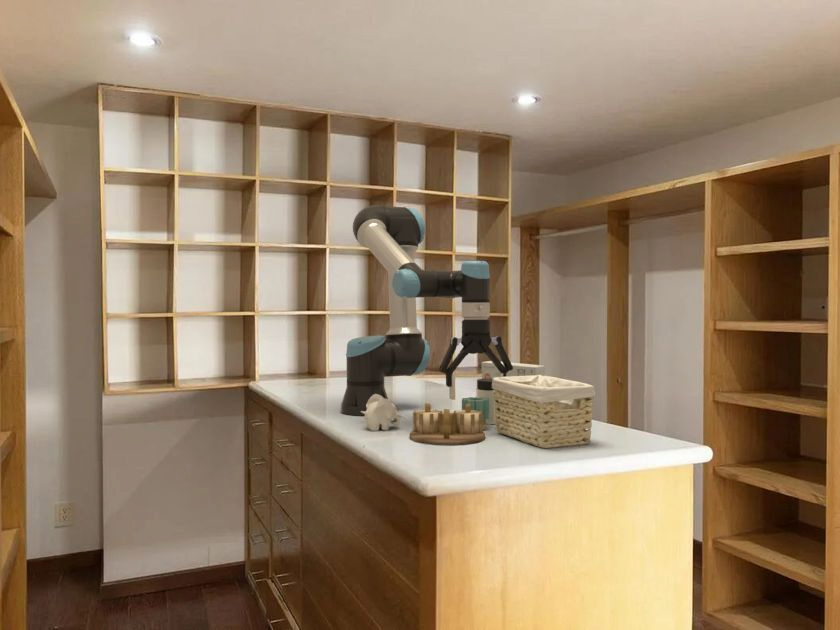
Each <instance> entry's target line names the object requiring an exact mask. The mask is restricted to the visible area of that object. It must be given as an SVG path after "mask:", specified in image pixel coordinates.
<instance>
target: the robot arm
mask: <svg viewBox="0 0 840 630" xmlns="http://www.w3.org/2000/svg"><path fill="white" fill-rule="evenodd" d="M425 232H426V226H425V221H424V217H423V216H422V214H421V213H420V212H419V211H418V210H416V209H415V208H411V207H410V208H409V207H406V206H403V207H401V206H388V205H387V206H385V205H377V204H376V205H375V204H374V205H369V206H366V207H364V208H363V209H361V210H360V211H359V212H358V213H357V214H356V215H355V217H354V219H353V223H352V233H353V236H354V238H355V240H357V242H358V243H359V244H360V246H361V247H363V248H366V249H367V250H369V252H371V253H372V255H373V256H374V257H375V258H376V259H377V261H378V262H379V264H380V265H382V266H383V268H384V269H385V270H386V271H387V281H388V303H389V305H388V307H389V310H388V311H389V327H390V328H389V330H388V331H387V332H386V333H385V337H384V335H379V334H378V335H366V336H361V337H360V336H359V337H357V338H352V339H350V340H348V341H347V344H346V353H345V356H346V389H345V391H344V395H343V399H342V402H341V404H340V412H341V414H345V415H350V416H365V414H364V413H362V412H361V411H365V412H366V410H367V408H366V404H367V402H368V400H369V399H370V397H371V396H372V395H374V394H378V395H381V396H382V397H383V398H385V399H388V400H389V398H388V397H389V396H388V395H387V392H386V387H385V377H387V378H388V377H390V378H391V377H406V376H407V377H411V376H417V375H420V374H423V372H425V370H426V368H427V367H428V365H429V363H430V357H431V349H430V348H431V347H430V344H429V342H428V341H427V340H426V339H424V338H423V334H422V332H421V331H420V329H418V323H417V322H418V321H417V301H416V300H417V299H416V298H438V299H439V298H440V299H441V298H442V299H443V298H444V299H455V298H461V317H462V318H463V319H462V320H461V337H460V338H459V337H455V336H454V337H453V336H451V337H450V339H449V340H450V341H449V346H448V348H447V351H446V353H445V355H444V357H443V359H442V361H441V364H440V366H439V368H438V371H439V372H440V373H443V374H445V386H446V388H447V387H448V389H449V390H448V391H449V395H448V396H449V397H448V398H449V399H450V400H454V401H455V400H456V375H455V374H453V373H454V372H455V371H456V369H457V368H458V367H459V365H460V364H461V363H462V361H463V360H464V359H465V358H466V357H467V356H468V355H469V354H471V355H475V354H481V355H482V354H484V355H485V356H486V357H487V358H488V359H489V361H492V362H493V364H494V365H495V366H496V367H497V369H498V370H499V371H500V373H497V377H506V373H507V372H508V371H510V370H513V366H512V364H511V363H512V362H511V361H510V358H509V355H508V354H507V352H506V349H505V348H504V345H503V341H502V337H501V336H499V335H497V336H494V337H491V321H490V320H489V319H488V318H490V316H491V315H490V313H491V312H490V311H491V310H490V308H491V307H490V306H491V305H490V298H491V297H490V296H491V295H490V290H491V289H490V288H491V287H490V286H491V285H490V284H491V282H490V280H491V279H490V278H491V276H490V275H491V274H490V264H489V263H488V262H487V261H485V260H466V261H463V262H462V263H461V268H460V270H443V269H442V270H434V269H432V270H431V269H430V270H429V269H422V268H421V267H420V266H419V265H418V264H417V263H416V261H415V253H416V252H417V251H418V250H419V245H420V244H422V242H423V241H424V239H425V237H424V236H425V235H426V233H425ZM491 343H492V345H494V347H495V349H496V351H497V353H498V356H499V357H500V359H499V358H498V357H497V356H496V355H495V353H494V352H493V350H492V349H491V347H489V346H490V345H491ZM460 344H461V345H462V348H461V350H460V351H459V353H458V354H457V355H456V357H455V358H454V359H453V361H452V362H451V360H452V358H453V356H454V354H455V352H456V350H457V347H458V346H459V345H460ZM500 360H501V361H500ZM450 362H451V363H450ZM501 362H503V364H504V366H505V367H504V366H503V364H502V363H501Z"/></svg>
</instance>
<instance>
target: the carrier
mask: <svg viewBox="0 0 840 630" xmlns="http://www.w3.org/2000/svg"><path fill="white" fill-rule="evenodd" d="M409 439H410V440H411V441H413V442H414V443H419V444H425V445H433V446H465V445H472V444H477V443H481V442H483V441H485V440H486V433H485V431H484V430H483V412H482V411H476V410H471V404H465V410H462V409H460V410H453V412H450V409H449V408H444V409H443V411H442V410H439V409H431V403H425V404H424V409H417V410H414V411H412V430H411V431H410V432H409Z"/></svg>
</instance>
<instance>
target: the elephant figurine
mask: <svg viewBox="0 0 840 630" xmlns="http://www.w3.org/2000/svg"><path fill="white" fill-rule="evenodd" d="M366 408H367V410H366V412H365V411H361V412H362V413H364V414H365V415H364V423H365V426H366V427H367V428H368V429H370V431H371V432H378V431H379V429H381V430H382V431H388V430H389V428H390V424H393V425H395V426H398V425H399V424H400V422H401V418H402V419H403V420H405V421H407V420H406V419H407V418H405V417H404V416H403V415H401V414H400V413H399V412H398V409H397V407H396V405H395V404H394V403H392V401H391V400H390V399H389V398H388V399H385V398H383V397H382V396H381V395H378V394H374V395H372V396H371V397H370V399H369V400H368V402H367V404H366Z"/></svg>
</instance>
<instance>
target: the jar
mask: <svg viewBox="0 0 840 630" xmlns="http://www.w3.org/2000/svg"><path fill="white" fill-rule="evenodd" d="M492 380H493V378H485V379H482V378H478V379H477V380H476V395H475V396H476V397H475V398H477V397H478V398H480V397H483V398H489V419H486V425H496V417H495V403H494V402H495V400H494V393H493V389H492Z"/></svg>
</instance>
